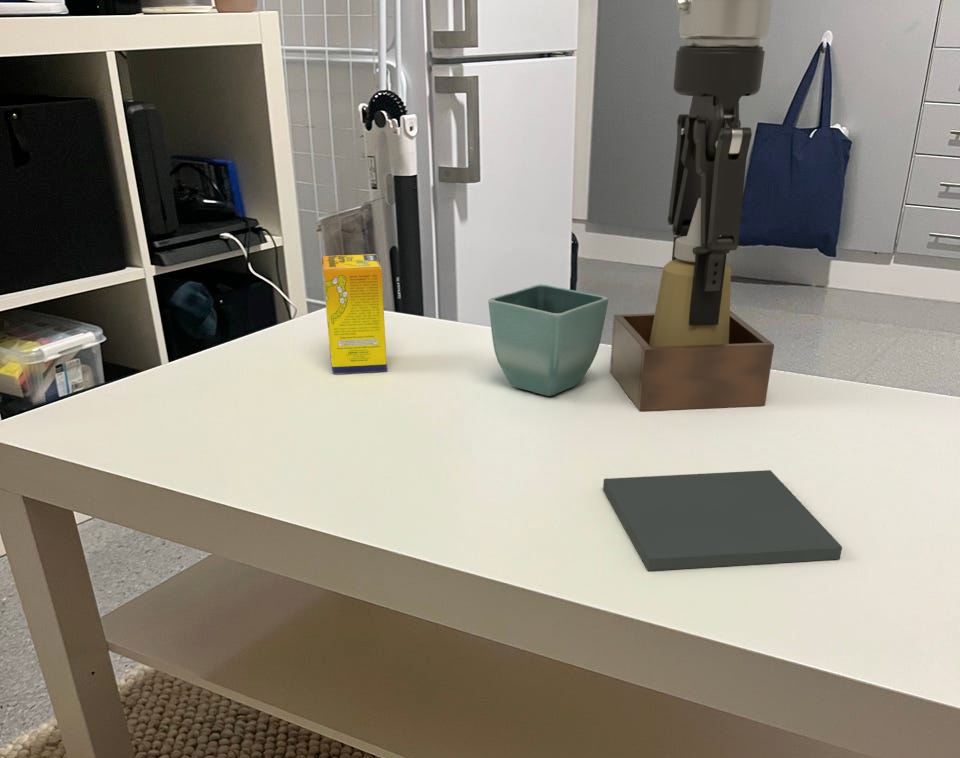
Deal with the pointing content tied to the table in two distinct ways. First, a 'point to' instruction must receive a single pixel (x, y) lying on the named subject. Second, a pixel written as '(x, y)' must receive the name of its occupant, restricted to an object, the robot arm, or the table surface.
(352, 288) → the supplement box
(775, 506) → the mat
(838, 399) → the table surface
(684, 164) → the robot arm
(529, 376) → the flower pot
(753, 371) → the box
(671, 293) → the squeeze bottle
